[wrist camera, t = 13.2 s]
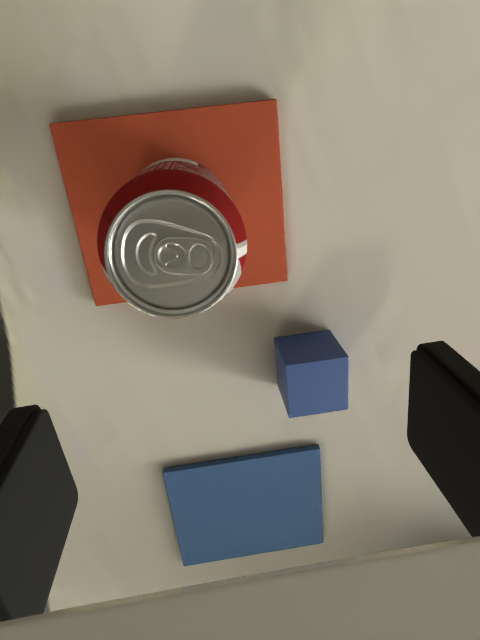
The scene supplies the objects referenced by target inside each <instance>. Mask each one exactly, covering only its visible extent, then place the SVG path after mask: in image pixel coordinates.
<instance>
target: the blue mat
mask: <svg viewBox="0 0 480 640" xmlns="http://www.w3.org/2000/svg"><path fill="white" fill-rule="evenodd" d="M163 477H164V481H165V485H166V490H167V494H168V499H169V503H170V507H171V512H172V516H173V521H174V525H175V529H176V534H177V538H178V543H179V547H180V551H181V556H182V560H183V565H184V566H188V565H194V564H200V563H206V562H212V561H218V560H224V559H230V558H236V557H242V556H248V555H254V554H260V553H266V552H272V551H278V550H284V549H290V548H296V547H302V546H308V545H314V544H320V543H323V521H322V491H321V462H320V447H319V445H312V446H305V447H299V448H292V449H286V450H279V451H273V452H266V453H260V454H253V455H247V456H240V457H234V458H227V459H221V460H214V461H208V462H201V463H195V464H188V465H182V466H175V467H169V468H163Z"/></svg>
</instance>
